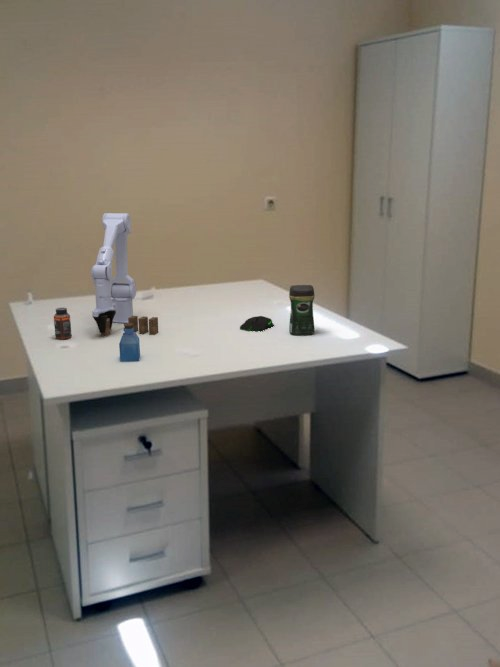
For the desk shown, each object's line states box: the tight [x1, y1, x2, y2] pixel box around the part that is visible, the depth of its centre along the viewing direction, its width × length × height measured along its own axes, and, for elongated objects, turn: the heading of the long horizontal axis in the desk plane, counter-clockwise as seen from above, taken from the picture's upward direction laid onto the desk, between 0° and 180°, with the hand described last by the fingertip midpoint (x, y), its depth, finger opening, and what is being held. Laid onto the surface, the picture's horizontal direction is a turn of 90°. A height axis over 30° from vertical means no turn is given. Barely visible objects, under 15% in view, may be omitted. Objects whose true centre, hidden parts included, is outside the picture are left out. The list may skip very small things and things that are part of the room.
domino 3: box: [148, 316, 159, 336], centre depth 273 cm, size 2×4×6 cm, turn 163°
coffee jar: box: [288, 284, 316, 336], centre depth 270 cm, size 10×8×19 cm
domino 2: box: [138, 315, 149, 335], centre depth 274 cm, size 2×4×6 cm, turn 163°
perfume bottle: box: [118, 323, 141, 363], centre depth 241 cm, size 6×6×12 cm
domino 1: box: [128, 315, 139, 333], centre depth 275 cm, size 2×4×6 cm, turn 163°
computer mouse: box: [239, 315, 275, 333], centre depth 282 cm, size 11×16×4 cm
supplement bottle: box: [53, 307, 72, 341], centre depth 267 cm, size 6×6×11 cm
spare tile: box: [100, 318, 111, 337], centre depth 272 cm, size 2×4×6 cm, turn 163°
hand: (105, 331), depth 272 cm, fingers closed on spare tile, 4 cm apart
